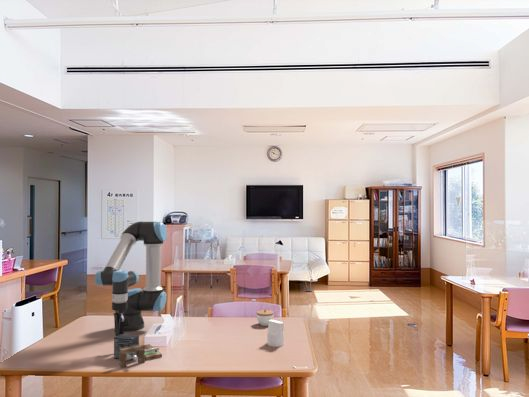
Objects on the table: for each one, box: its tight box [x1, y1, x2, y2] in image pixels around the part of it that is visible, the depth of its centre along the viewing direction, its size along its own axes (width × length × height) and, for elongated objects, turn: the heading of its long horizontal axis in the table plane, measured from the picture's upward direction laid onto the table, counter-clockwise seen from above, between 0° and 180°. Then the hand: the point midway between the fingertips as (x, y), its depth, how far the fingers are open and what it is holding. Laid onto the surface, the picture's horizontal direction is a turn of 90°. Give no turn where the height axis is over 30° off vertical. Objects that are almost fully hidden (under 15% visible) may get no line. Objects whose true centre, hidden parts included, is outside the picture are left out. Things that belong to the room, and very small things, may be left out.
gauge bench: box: [119, 343, 163, 369], centre depth 208 cm, size 20×20×8 cm
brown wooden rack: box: [120, 343, 160, 361], centre depth 200 cm, size 19×10×6 cm, turn 125°
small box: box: [113, 334, 140, 361], centre depth 207 cm, size 11×6×10 cm, turn 77°
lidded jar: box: [256, 308, 275, 327], centre depth 263 cm, size 11×11×9 cm
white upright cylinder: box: [267, 319, 285, 347], centre depth 227 cm, size 9×9×12 cm
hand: (118, 347), depth 214 cm, fingers closed
